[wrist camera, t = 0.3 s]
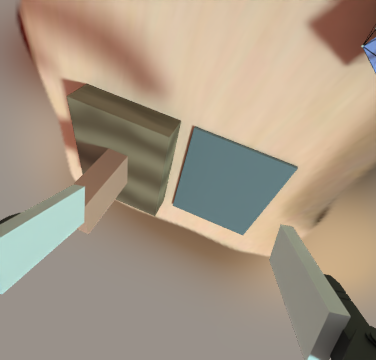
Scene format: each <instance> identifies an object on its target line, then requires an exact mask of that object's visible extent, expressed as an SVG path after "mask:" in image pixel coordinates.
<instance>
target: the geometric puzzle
mask: <svg viewBox="0 0 376 360" xmlns="http://www.w3.org/2000/svg"><path fill="white" fill-rule="evenodd" d="M375 25H376V24H375ZM374 27H375V26H374ZM372 30H373V29H372ZM375 30H376V28H375ZM375 30H374V31H375ZM371 32H372V31H371ZM373 33H374V32H373ZM373 33H372V34H373ZM372 34H371V35H372ZM369 35H370V34H369ZM371 35H370V37H371ZM370 37H369V38H370ZM367 38H368V37H367ZM369 38H368V39H369ZM368 39H366V42H367V40H368ZM366 42H364V44H365V43H366ZM364 44H363V45H361V47H363V49H364V51H365V53H366V55H367V57H368V59H369V61H370V63H371V65H372V67H373V69H374V71H375V73H376V38H374V39H373V40H371V41H370V42H368V43H366V44H365V45H364Z"/></svg>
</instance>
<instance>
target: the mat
mask: <svg viewBox="0 0 376 360" xmlns="http://www.w3.org/2000/svg"><path fill="white" fill-rule="evenodd" d="M297 168H298V167H297V166H294V165H292V164H289V163H287V162H284V161H282V160H279V159H277V158H274V157H271V156H269V155H266V154H264V153H261V152H259V151H256V150H254V149H251V148H249V147H246V146H243V145H241V144H238V143H236V142H233V141H231V140H228V139H226V138H223V137H221V136H218V135H216V134H213V133H210V132H208V131H205V130H203V129H200V128H198V127H195V128H194V131H193V134H192V138H191V141H190V145H189V149H188V152H187V156H186V160H185V163H184V167H183V170H182V174H181V178H180V181H179V185H178V189H177V192H176V196H175V199H174V203H173V206H175V207H177V208H180V209H182V210H185V211H187V212H189V213H192V214H194V215H196V216H199V217H201V218H203V219H206V220H208V221H210V222H213V223H215V224H217V225H220V226H222V227H224V228H227V229H229V230H232V231H234V232H236V233H239V234H241V235H244V233H245V232H246V231H247V230H248V228H249V227H250V226H251V225H252V224H253V222H254V221H255V220H256V219H257V217H258V216H259V215H260V214H261V213H262V211H263V210H264V209H265V208H266V206H267V205H268V204H269V203H270V202H271V200H272V199H273V198H274V197H275V196H276V194H277V193H278V192H279V191H280V189H281V188H282V187H283V186H284V185H285V183H286V182H287V181H288V180H289V178H290V177H291V176H292V175H293V174H294V172H295V171H296V170H297Z"/></svg>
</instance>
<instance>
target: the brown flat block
mask: <svg viewBox="0 0 376 360" xmlns="http://www.w3.org/2000/svg"><path fill="white" fill-rule="evenodd" d="M67 100H68V105H69V110H70V115H71V119H72V124H73V129H74V134H75V139H76V144H77V149H78V153H79V158H80V163H81V168H82V173H83V174H84V173H85V172H86V171H87V170H88V169H89V168H90V167H91V166H92V165H93V164H94V163H95V162H96V161H97V160H98V159H99V158H100V157H101V156H102V155H103V154H104V153H105V152H106V151H107V150H108V149H111V150H114V151H116V152H119V153H121V154H124V155H126V156H128V171H127V184H126V185H125V187H124V188H123V189H122V191H121V192H120V193H119V195H118V196H117V197H116V200H119V201H121V202H123V203H126V204H128V205H130V206H133V207H135V208H137V209H140V210H142V211H144V212H147V213H149V214H151V215H154V216H155V215H156V213H157V211H158V210H159V208H160V206H161V204H162V202H163V201H164V197H165V193H166V188H167V183H168V179H169V174H170V170H171V165H172V161H173V156H174V151H175V147H176V142H177V138H178V133H179V128H180V124H181V121H180V120H177V119H175V118H172V117H170V116H167V115H165V114H162V113H160V112H157V111H154V110H152V109H149V108H147V107H144V106H142V105H139V104H137V103H134V102H132V101H129V100H127V99H124V98H121V97H119V96H116V95H114V94H111V93H109V92H106V91H104V90H101V89H99V88H96V87H93V86H91V85H88V84H86V85H84V86H83V87H81V88H79V89H78V90H76V91H74V92H73V93H71V94H70V95H68V96H67Z"/></svg>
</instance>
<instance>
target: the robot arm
mask: <svg viewBox="0 0 376 360" xmlns="http://www.w3.org/2000/svg"><path fill="white" fill-rule="evenodd" d="M84 210H85V186H80V185H75V184H74V185H72V186H70V187H68V188H66V189H65V190H63V191H61V192H59V193H57V194H55V195H53V196H52V197H50V198H48V199H46V200H44V201H42V202H41V203H39V204H37V205H35V206H33V207H31V208H30V209H28V210H26V211H25V212H22V213H18V214H14V215H11V216H8V217H6V218H5V219H3V220H1V221H0V294H3V293H4V292H5V291H6V290H8V289H9V288H10V287H11V286H12V285H13V284H15V283H16V282H17V281H18V280H19V279H20V278H21V277H22V276H24V275H25V274H26V273H27V272H28V271H29V270H31V269H32V268H33V267H34V266H35V265H36V264H37V263H38V262H40V261H41V260H42V259H43V258H44V257H45V256H46V255H48V254H49V253H50V252H51V251H52V250H53V249H54V248H55V247H57V246H58V245H59V244H60V243H61V242H62V241H64V240H65V239H66V238H67V237H68V236H69V235H70V234H72V233H73V232H74V231H75V230H76V229H77V228H78V227H80V226H81V225H82V224H83V223H84ZM269 260H270V264H271V266H272V269H273V272H274V275H275V278H276V281H277V284H278V286H279V289H280V292H281V295H282V298H283V301H284V304H285V306H286V309H287V312H288V315H289V318H290V320H291V323H292V326H293V329H294V332H295V335H296V338H297V341H298V343H299V346H300V349H301V352H302V355H303V358H304V360H329V359H330V358H331V360H376V328H374V327H372V326H369V324H368V323H367V322H366V320H365V319H364V317H363V316H362V315H361V313H360V312H359V310H358V309H357V307H356V306H355V305H354V303H353V302H352V301H351V299H350V298H349V296H348V295H347V294H346V292H345V291H344V289H343V288H342V286H341V285H340V283H338V282H337V281H336V280H335V279H334V278H333V277H332V276H330V275H325V274H323V273H322V271H321V270H320V268H319V266H318V265H317V263H316V262H315V260H314V259H313V257H312V256H311V254H310V253H309V251H308V249H307V248H306V246H305V245H304V243H303V242H302V240H301V239H300V237H299V235H298V234H297V232H296V231H295V229H294V228H293V227H292V226H287V225H280V228H279V231H278V234H277V237H276V241H275V244H274V247H273V250H272V253H271V256H270V259H269Z"/></svg>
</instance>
